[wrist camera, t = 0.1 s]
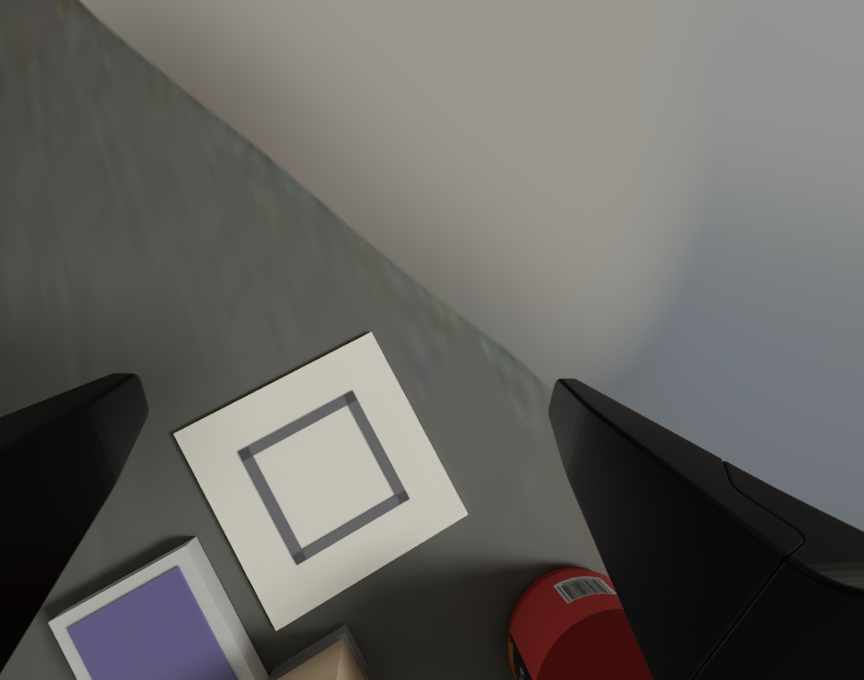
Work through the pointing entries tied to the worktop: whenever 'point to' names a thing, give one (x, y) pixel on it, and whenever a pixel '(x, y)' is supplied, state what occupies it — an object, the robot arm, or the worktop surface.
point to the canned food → (573, 631)
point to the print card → (321, 478)
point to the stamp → (326, 660)
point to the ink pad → (159, 626)
